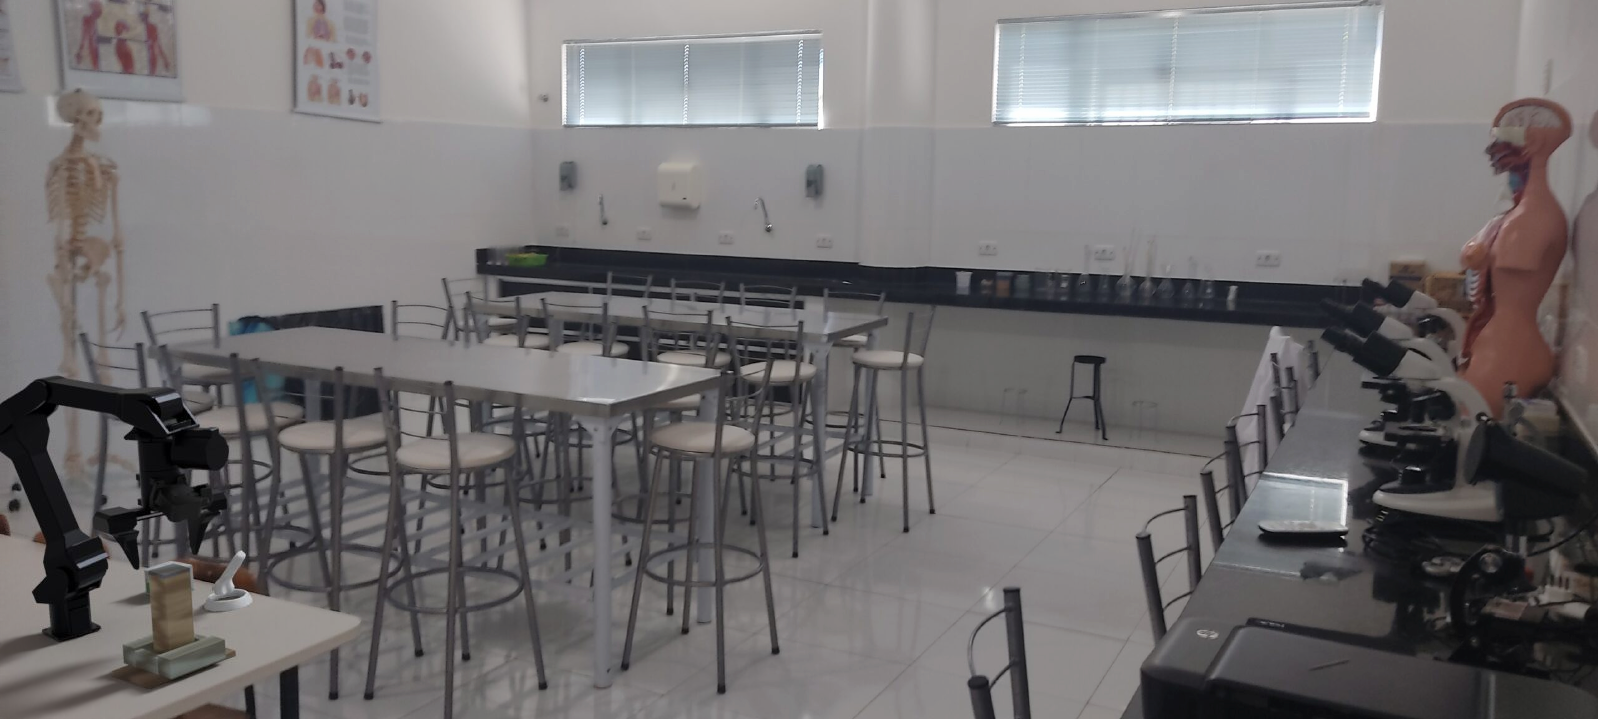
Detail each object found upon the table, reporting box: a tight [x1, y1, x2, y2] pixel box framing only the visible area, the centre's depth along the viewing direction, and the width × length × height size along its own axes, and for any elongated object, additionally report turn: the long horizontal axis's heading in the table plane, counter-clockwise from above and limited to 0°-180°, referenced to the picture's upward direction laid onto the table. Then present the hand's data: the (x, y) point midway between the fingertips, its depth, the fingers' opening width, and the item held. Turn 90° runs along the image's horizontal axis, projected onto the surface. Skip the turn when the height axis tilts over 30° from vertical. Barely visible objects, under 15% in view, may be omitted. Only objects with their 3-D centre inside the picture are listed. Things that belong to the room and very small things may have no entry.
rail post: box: [148, 563, 195, 655], centre depth 173 cm, size 4×4×15 cm
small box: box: [143, 560, 195, 596], centre depth 205 cm, size 6×6×5 cm
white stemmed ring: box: [203, 550, 253, 613], centre depth 199 cm, size 8×12×7 cm
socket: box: [111, 632, 237, 690], centre depth 174 cm, size 12×14×4 cm
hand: (166, 561), depth 182 cm, fingers open, 9 cm apart
